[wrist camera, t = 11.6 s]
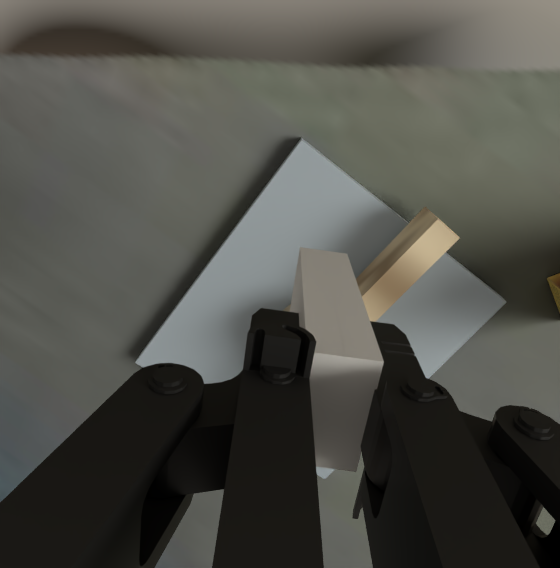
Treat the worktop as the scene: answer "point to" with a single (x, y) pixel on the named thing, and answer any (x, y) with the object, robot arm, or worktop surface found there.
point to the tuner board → (283, 263)
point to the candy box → (555, 288)
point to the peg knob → (403, 262)
